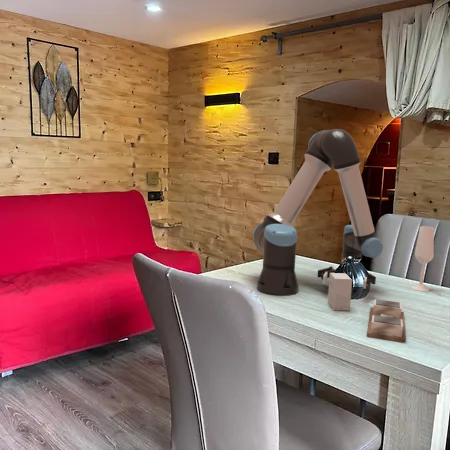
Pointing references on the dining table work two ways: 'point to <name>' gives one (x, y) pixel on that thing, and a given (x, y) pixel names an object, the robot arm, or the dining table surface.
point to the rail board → (386, 321)
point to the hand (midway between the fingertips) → (344, 282)
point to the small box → (339, 291)
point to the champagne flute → (424, 252)
